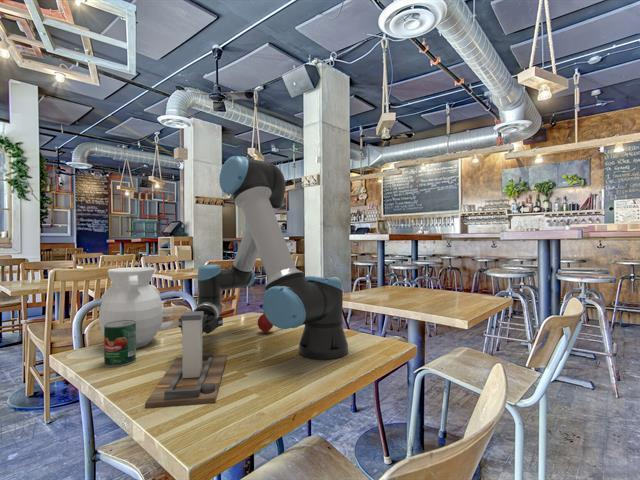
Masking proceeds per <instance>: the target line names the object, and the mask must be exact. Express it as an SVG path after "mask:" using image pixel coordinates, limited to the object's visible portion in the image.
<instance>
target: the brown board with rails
mask: <svg viewBox="0 0 640 480" xmlns="http://www.w3.org/2000/svg"><path fill="white" fill-rule="evenodd" d="M227 360H228V354H222V355H221V354H219V355H218V354H217V355H214V353H202V373H201V375H200V377H195V378H182V356H180V357H175V359H174V360H173V361H172V363H171V364H170V366H169V367H168V369H167V370H166V371H165V373H164V374H163V376H162V377H161V379H160V380H159V381H158V383H157V385H156V387H155V388H154V390H152V392H151V394H150V395H149V397H148V398H147V399H146V401H145V402H144V408H145V409H149V408H159V407H174V406H187V405H188V406H189V405H199V404H200V405H201V404H202V405H203V404H214V403H216V402H217V401H216V400H217V397H218V394H219V389H220V386H221V382H222V378H223V375H224V371H225V366H226V363H227Z"/></svg>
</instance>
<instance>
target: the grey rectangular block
mask: <svg viewBox="0 0 640 480" xmlns="http://www.w3.org/2000/svg"><path fill="white" fill-rule="evenodd" d="M203 316H204V311H194V310H193V311H184V312H183V313H182V314H181V315H180V318H181V321H182V332H181V335H182V343H181V345H182V351H181V352H182V356H181V357H182V378H195V377H200V375H201V373H202V354H203V334H202V318H203Z"/></svg>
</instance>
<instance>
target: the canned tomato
mask: <svg viewBox="0 0 640 480" xmlns="http://www.w3.org/2000/svg"><path fill="white" fill-rule="evenodd" d="M103 338H104V340H103V341H104V343H103V345H104V346H103V351H104V352H103V355H104V356H103V360H104V362H103V366H105V367H107V368H116V367H117V368H118V367H123V366H124V367H125V366H128V365H130V364H133V363H135V362H136V361H137V357H136V356H137V348H136V321H134V320H120V321H113V322H109V323H106V324H105V325H104V335H103Z"/></svg>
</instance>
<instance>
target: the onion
mask: <svg viewBox="0 0 640 480" xmlns="http://www.w3.org/2000/svg"><path fill="white" fill-rule="evenodd" d="M257 327H258V329H259V330H261V331H262V332H263V333H264V334H267V333H268V332H270V330H272V329H273V327H274V325H273V324H271V323H270V322H269V320H268V319H267V317H266V316H265V313H264V311H263V313H262V314H261V315H260V316H259V317H258V319H257Z"/></svg>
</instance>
